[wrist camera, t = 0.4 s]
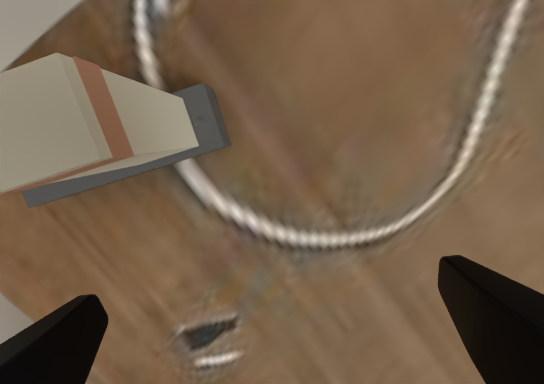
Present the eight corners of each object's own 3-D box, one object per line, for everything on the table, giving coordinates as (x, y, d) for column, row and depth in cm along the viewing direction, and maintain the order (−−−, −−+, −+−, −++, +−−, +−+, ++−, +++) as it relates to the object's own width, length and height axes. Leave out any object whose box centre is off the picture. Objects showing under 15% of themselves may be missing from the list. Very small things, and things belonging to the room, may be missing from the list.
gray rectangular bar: (231, 145, 21) (224, 146, 18) (57, 199, 22) (28, 207, 19) (212, 88, 20) (203, 82, 18) (33, 148, 21) (1, 150, 19)
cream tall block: (200, 146, 18) (103, 160, 8) (140, 165, 19) (-20, 199, 9) (183, 97, 18) (57, 49, 8) (121, 117, 18) (-72, 97, 8)
